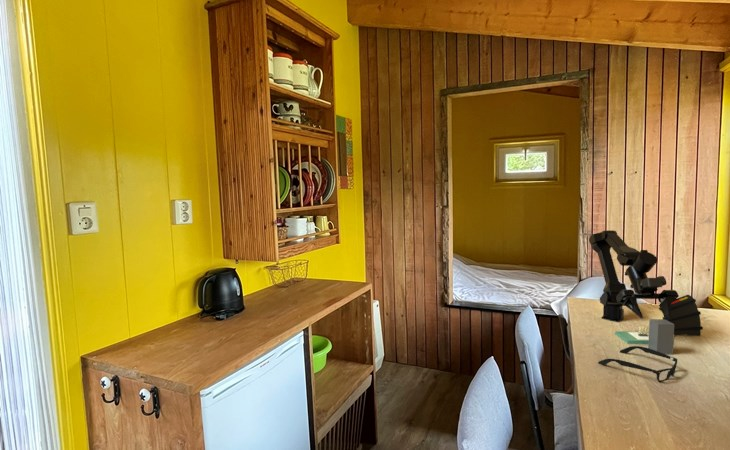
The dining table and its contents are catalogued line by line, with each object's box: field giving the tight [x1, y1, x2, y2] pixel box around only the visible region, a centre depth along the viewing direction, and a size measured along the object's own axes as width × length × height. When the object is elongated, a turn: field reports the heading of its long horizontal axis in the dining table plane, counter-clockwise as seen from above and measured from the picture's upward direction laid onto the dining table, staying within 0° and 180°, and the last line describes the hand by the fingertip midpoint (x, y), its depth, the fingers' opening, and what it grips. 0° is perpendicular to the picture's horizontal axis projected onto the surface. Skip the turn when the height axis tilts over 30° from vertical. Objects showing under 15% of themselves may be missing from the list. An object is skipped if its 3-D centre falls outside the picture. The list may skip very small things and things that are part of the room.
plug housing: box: [647, 318, 675, 355], centre depth 137 cm, size 5×5×10 cm
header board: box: [614, 326, 649, 345], centre depth 148 cm, size 9×15×5 cm, turn 83°
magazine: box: [658, 294, 704, 337], centre depth 151 cm, size 4×13×15 cm, turn 78°
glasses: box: [597, 345, 678, 383], centre depth 126 cm, size 17×18×5 cm
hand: (655, 317), depth 140 cm, fingers open, 9 cm apart
